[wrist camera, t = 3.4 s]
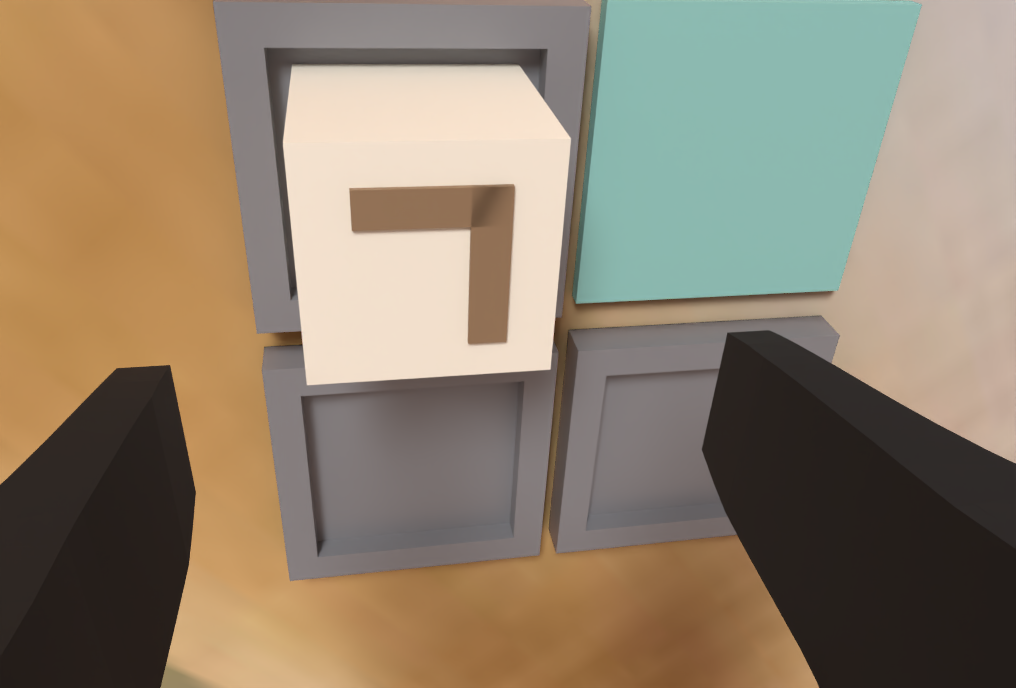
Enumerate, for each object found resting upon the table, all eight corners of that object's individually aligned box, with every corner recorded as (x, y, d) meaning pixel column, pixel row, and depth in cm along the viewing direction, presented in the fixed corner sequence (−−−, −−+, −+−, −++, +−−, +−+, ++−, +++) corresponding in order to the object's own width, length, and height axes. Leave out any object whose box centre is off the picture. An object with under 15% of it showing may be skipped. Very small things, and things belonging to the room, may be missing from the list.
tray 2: (549, 330, 22) (558, 352, 21) (532, 530, 25) (539, 555, 24) (264, 346, 20) (262, 370, 19) (291, 553, 24) (290, 581, 23)
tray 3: (820, 315, 23) (839, 335, 22) (766, 507, 27) (780, 530, 26) (568, 329, 22) (578, 350, 21) (548, 528, 25) (556, 553, 25)
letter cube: (518, 64, 17) (572, 140, 14) (508, 260, 20) (552, 372, 16) (292, 64, 17) (282, 145, 13) (310, 268, 19) (306, 388, 15)
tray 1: (578, -5, 17) (591, 6, 16) (552, 296, 21) (561, 317, 20) (218, -10, 16) (213, 1, 15) (259, 310, 20) (257, 333, 19)
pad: (911, 0, 19) (921, 4, 18) (830, 283, 22) (838, 290, 22) (602, -4, 17) (607, 0, 17) (572, 295, 21) (575, 303, 21)
